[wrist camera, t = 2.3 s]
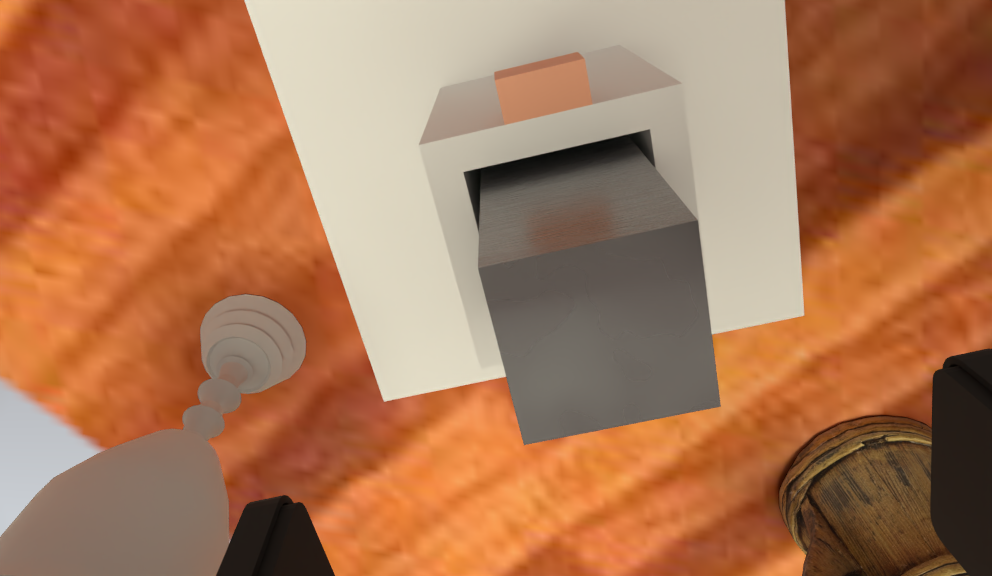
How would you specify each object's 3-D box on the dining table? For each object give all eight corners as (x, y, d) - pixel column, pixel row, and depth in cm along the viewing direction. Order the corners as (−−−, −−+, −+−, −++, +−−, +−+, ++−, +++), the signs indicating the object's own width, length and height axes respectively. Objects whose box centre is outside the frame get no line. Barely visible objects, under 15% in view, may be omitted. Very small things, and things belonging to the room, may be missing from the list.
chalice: (167, 379, 36) (-104, 730, 19) (187, 258, 33) (-107, 545, 17) (312, 417, 37) (172, 780, 20) (343, 301, 34) (209, 613, 18)
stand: (758, -181, 26) (936, -275, 16) (791, 301, 34) (924, 449, 24) (241, -45, 28) (94, -50, 18) (387, 384, 36) (346, 557, 26)
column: (591, 88, 29) (700, 217, 14) (610, 194, 30) (723, 408, 16) (481, 114, 29) (474, 266, 14) (505, 218, 31) (522, 447, 16)
